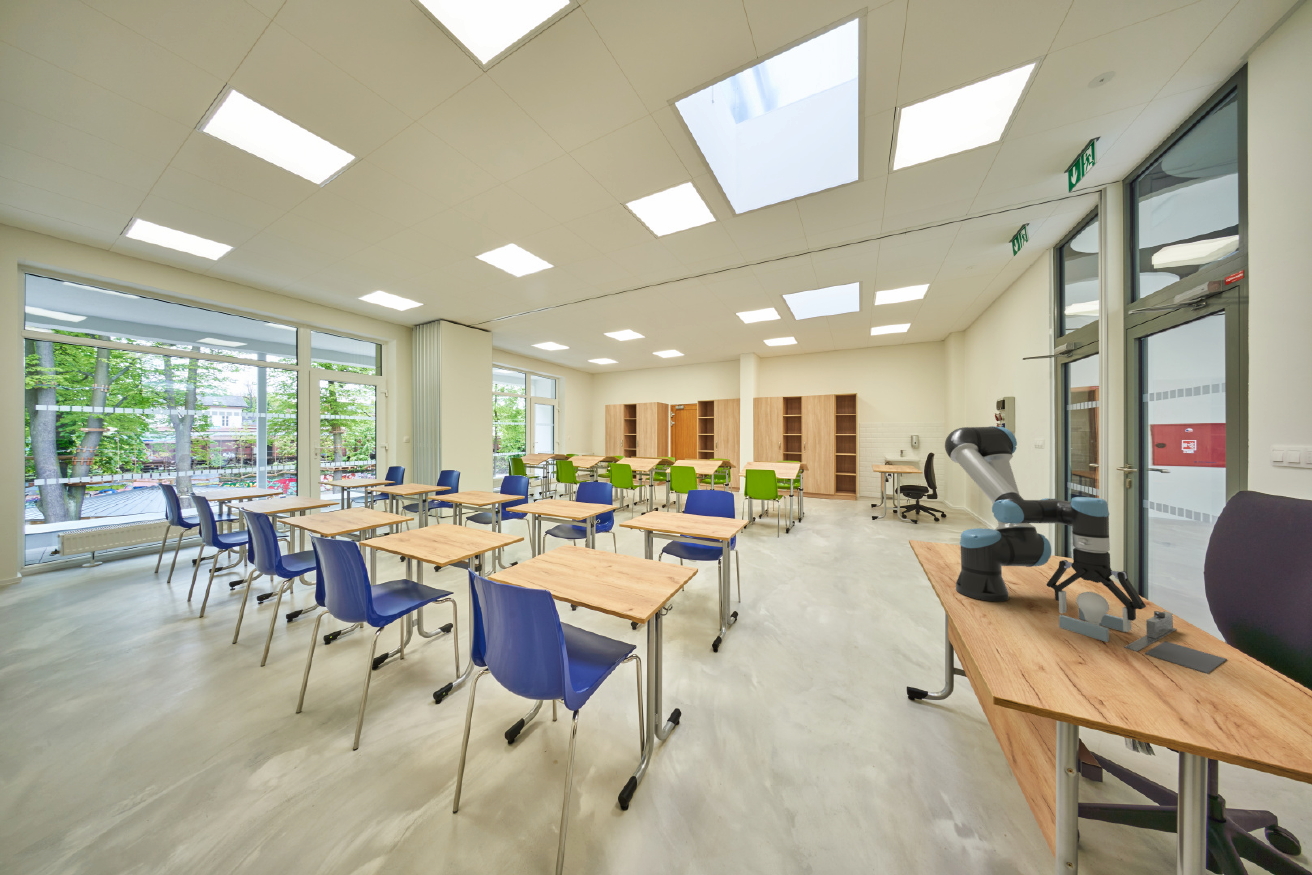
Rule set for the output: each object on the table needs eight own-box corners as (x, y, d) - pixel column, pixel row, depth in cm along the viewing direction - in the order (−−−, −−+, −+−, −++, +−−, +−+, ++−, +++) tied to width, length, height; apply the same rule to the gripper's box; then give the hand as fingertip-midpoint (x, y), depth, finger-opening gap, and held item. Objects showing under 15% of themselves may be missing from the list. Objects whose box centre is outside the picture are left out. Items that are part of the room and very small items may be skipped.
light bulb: (1117, 634, 116) (1116, 596, 116) (1093, 634, 116) (1092, 596, 116) (1092, 624, 123) (1091, 588, 123) (1070, 624, 123) (1069, 588, 123)
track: (1124, 647, 109) (1124, 646, 109) (1164, 626, 120) (1164, 625, 120) (1137, 651, 107) (1137, 650, 107) (1176, 629, 118) (1176, 628, 118)
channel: (1059, 627, 121) (1058, 615, 121) (1081, 617, 127) (1080, 606, 127) (1106, 642, 112) (1106, 629, 112) (1128, 631, 118) (1127, 619, 118)
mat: (1144, 654, 106) (1144, 652, 106) (1165, 642, 111) (1165, 641, 111) (1207, 673, 96) (1207, 672, 96) (1226, 659, 102) (1226, 658, 102)
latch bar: (1145, 635, 114) (1145, 615, 114) (1163, 626, 120) (1162, 606, 120) (1156, 638, 113) (1155, 618, 113) (1174, 629, 118) (1173, 609, 118)
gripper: (1031, 542, 129) (1033, 607, 129) (1149, 562, 107) (1152, 642, 106) (1043, 539, 133) (1045, 603, 132) (1160, 558, 110) (1163, 636, 109)
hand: (1093, 621), depth 119 cm, fingers open, 13 cm apart
